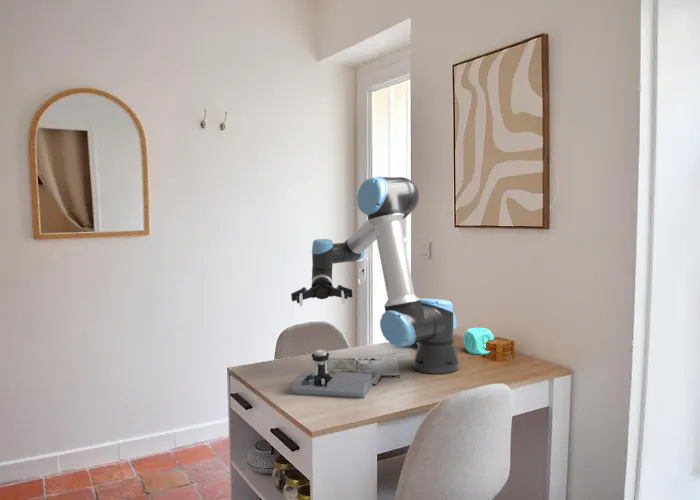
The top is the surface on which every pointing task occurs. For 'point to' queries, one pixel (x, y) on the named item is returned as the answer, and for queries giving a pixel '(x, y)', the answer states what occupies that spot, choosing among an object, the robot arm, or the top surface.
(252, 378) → the top surface
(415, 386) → the top surface
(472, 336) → the decorative dice
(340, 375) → the grey recessed block
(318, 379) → the push button
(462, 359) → the top surface
